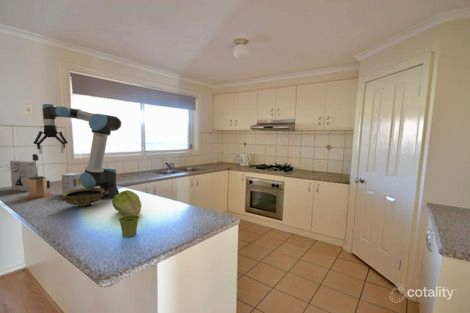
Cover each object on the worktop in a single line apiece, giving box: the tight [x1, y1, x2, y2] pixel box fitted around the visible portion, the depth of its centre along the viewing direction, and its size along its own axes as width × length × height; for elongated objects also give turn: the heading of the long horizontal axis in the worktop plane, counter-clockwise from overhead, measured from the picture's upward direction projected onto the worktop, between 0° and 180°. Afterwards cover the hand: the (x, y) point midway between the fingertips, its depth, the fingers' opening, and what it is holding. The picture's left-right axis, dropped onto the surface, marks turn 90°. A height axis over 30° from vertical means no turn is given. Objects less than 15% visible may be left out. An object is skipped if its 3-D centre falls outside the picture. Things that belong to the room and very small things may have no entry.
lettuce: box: [111, 189, 142, 216], centre depth 140 cm, size 14×24×15 cm
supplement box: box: [61, 172, 82, 194], centre depth 181 cm, size 10×9×17 cm
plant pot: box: [117, 214, 140, 238], centre depth 110 cm, size 9×9×9 cm
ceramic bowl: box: [56, 187, 109, 208], centre depth 153 cm, size 30×24×10 cm
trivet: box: [17, 191, 58, 202], centre depth 170 cm, size 18×18×1 cm
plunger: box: [32, 153, 39, 177], centre depth 168 cm, size 7×7×24 cm
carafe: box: [27, 175, 51, 198], centre depth 170 cm, size 10×13×15 cm
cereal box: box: [9, 159, 39, 192], centre depth 192 cm, size 22×8×25 cm, turn 73°
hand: (51, 153), depth 170 cm, fingers open, 13 cm apart
